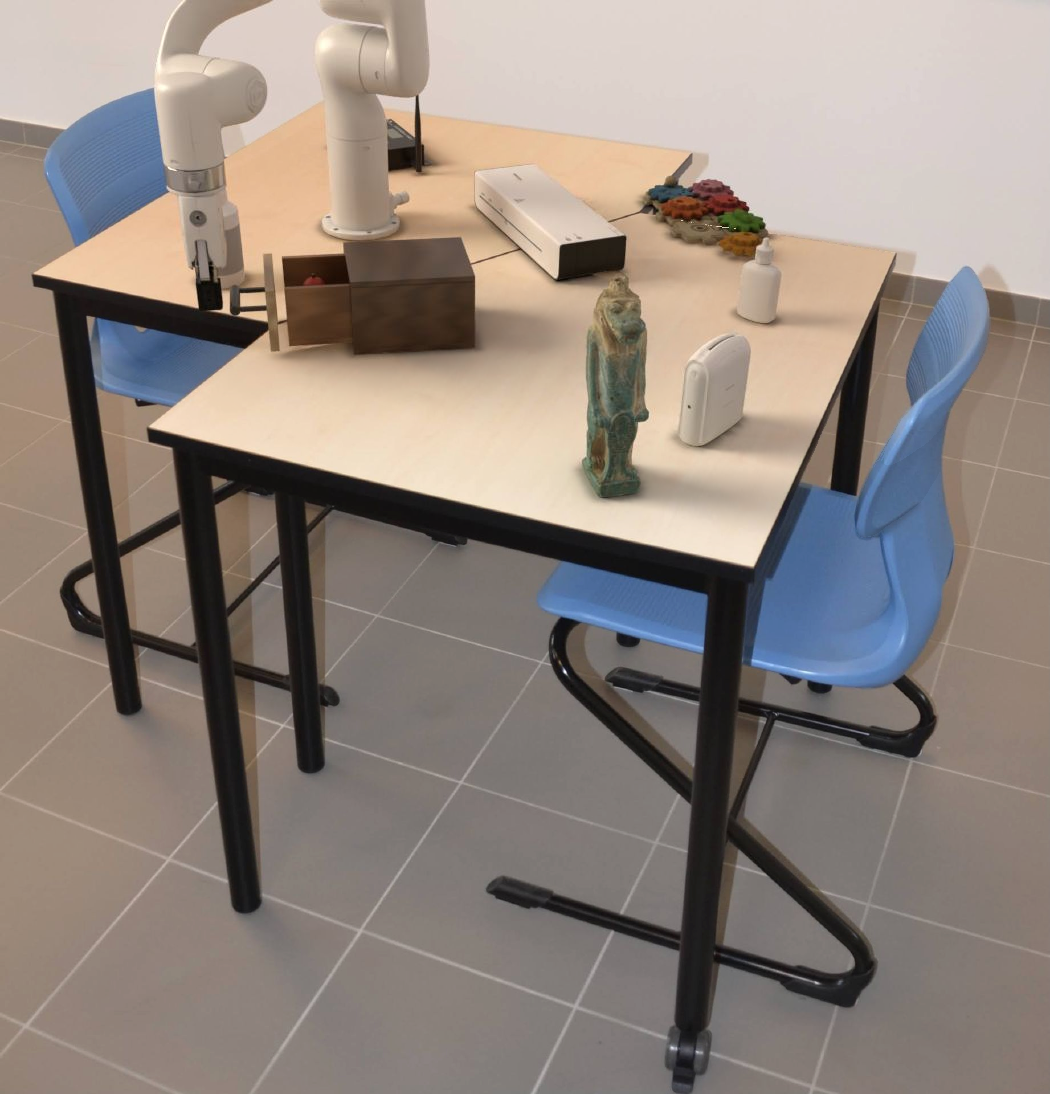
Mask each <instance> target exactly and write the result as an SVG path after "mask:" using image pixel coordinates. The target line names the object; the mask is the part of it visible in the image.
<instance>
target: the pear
mask: <svg viewBox="0 0 1050 1094" xmlns="http://www.w3.org/2000/svg"><path fill="white" fill-rule="evenodd" d="M314 285H325V283H324V281H323V280H322V279H321V278H319V277H315V274H312V277H309V278H307V279H306V280H305V281H304V283H303V286H314Z"/></svg>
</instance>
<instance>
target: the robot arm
mask: <svg viewBox="0 0 1050 1094" xmlns="http://www.w3.org/2000/svg"><path fill="white" fill-rule="evenodd" d="M273 1H274V0H181V2H180V3H179V4H178V5H177V6H176V7H175V8H174V10H173V11H172V13H171V15H170V16H169V17H168V20H167V22H166V24H165V27H164V29H163V32H162V37H161V41H160V44H159V48H158V52H157V56H156V57H157V58H156V62H155V67H154V75H153V76H154V77H153V79H154V80H153V83H154V85H153V86H154V88H153V92H154V94H153V95H154V102H155V103H154V104H155V111H156V118H157V125H158V133H159V140H160V147H161V155H162V162H163V163H162V164H163V171H164V178H165V185H166V186H165V187H166V190H167V191H168V192H169V193H170V194H173V195H176V197H177V198H176V199H177V205H178V213H179V221H180V227H181V228H180V229H181V235H182V240H183V247H184V252H185V257H186V263H187V266H188V267H187V268H189V269H190V270H192V271H194V272H195V291H196V298H197V299H196V300H197V305H198V310H199V312H210V311H222V310H223V309H224V299H223V291H222V290H223V289H221V280H220V278H218V267H221V269H223V268H224V267H225V266H226V262H227V244H226V236H225V228H224V219H223V211H222V203H221V196H220V192H221V191H222V190H224V189H225V188H227V184H228V183H227V175H226V167H225V159H224V148H223V140H222V130H223V128H227V127H231V126H232V127H233V126H237V125H241V124H245V123H248V122H250V121H252V120H254V119H255V118H256V117H258V115H259V114H260V113H261V112H262V111H263V109H264V107H265V106H266V103H267V99H268V84H267V80H266V78H265V76H264V75H263V73H262V72H261V70H259V68H257V67H256V66H254V65H252V64H250V63H248V62H244V61H241V60H234V59H228V58H221V57H216V56H209V55H202V54H199V53H200V50H201V48H202V46H203V44H204V42H205V41H206V39H207V38H208V36H209V35H210V34H211V33H212V32H213V31H214V30H215V29H216V28H218V27H219V26H220V25H222V24H223V23H225V22H226V21H229V20H230V19H232V18H234V17H238V16H240V15H242V14H244V13H247V12H249V11H252V10H255V9H257V8H260V7H263V6H265V5H267V4H269V3H271V2H273ZM317 2H318V3H317V4H318V6H319V7H320V9H321V11H322V12H323V13H324V14H325V15H327V16H329V17H331V18H334V19H337V20H343V21H347V22H348V21H349V22H356V23H349V22H348V23H347V22H343V23H341V22H340V23H334V24H331V25H328V26H326V27H324V29H323V30H322V31H321V32H320V33H319V34H318V36H317V39H316V41H315V44H314V63H315V69H316V73H317V77H318V80H319V84H320V89H321V94H322V99H323V109H324V119H325V120H324V121H325V122H324V123H325V136H326V138H325V139H326V153H327V168H328V169H327V170H328V186H329V187H328V188H329V199H330V200H329V202H330V203H329V204H330V211H329V212H328V213H326V214H325V215H324V216H323V217H322V219H321V227H322V230H323V231H324V232H325V233H326V234H328V235H329V236H332V237H335V238H337V239H341V240H347V241H374V240H378V239H384V238H387V237H389V236H391V235H393V234H395V233H396V232H398V230H399V228H400V226H401V222H400V216H398V215H397V214H396V213H395V210H396V209H397V208H398V206H402V205H404V204H407V203H409V202H410V194H409V193H408V192H407V191H405V190H403V191H399V192H397V193H395V194H393V193H392V191H391V190H390V182H389V179H390V177H389V171H388V149H387V121H386V120H387V116H386V112H385V109H384V107H383V105H382V103H381V101H380V99H379V98H378V96H386V97H392V98H404V99H405V98H406V99H408V98H409V99H410V98H414V97H416V96H417V95H419V96H420V94H421V93H422V92H423V91H424V90H425V88H426V86H427V84H428V81H429V77H430V63H431V62H430V44H429V34H428V33H429V32H428V23H427V22H428V21H427V11H426V10H427V9H426V0H317ZM359 23H364V24H359ZM366 24H367V25H366ZM368 24H371V25H368ZM374 25H378V26H379V25H380V26H383V27H378V26H374Z"/></svg>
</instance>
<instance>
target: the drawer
mask: <svg viewBox="0 0 1050 1094" xmlns="http://www.w3.org/2000/svg"><path fill="white" fill-rule="evenodd" d="M262 258H263V260H262V261H263V279H264V286H250V287H240V285H232V286H231V287H230V288H229V313H230V315H231V316H234V317H238V316H239V315H241V313H247V312H248V313H250V312H251V313H252V312H266V316H267V327H268V338H269V348H270V349H269V350H270V352H271V353H273V352H280V351H281V349H280V332H279V320H278V307H277V295H276V284H275V274H274V262H273V253H262ZM281 264H282V265H281V266H282V275H283V285H284V286H283V289H284V300H285V314H286V325H287V335H288V336H287V337H288V346H289V347H301V346H319V345H320V346H321V345H336V344H337V345H338V344H352V343H353V332H352V313H351V295H350V283H349V277H348V271H347V266H346V260H345V254H344V252H343V253H324V254H323V253H321V254H300V255H283V256H282V255H281ZM312 274H315V277H319V278H321V279H322V280H323V281H324V283H325V285H314V286H303V283H304V281H305V280H306V279H307V278H309V277H312ZM254 293H255V294H256V293H264V295H265V304H262V305H244V306H241V294H254Z"/></svg>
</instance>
